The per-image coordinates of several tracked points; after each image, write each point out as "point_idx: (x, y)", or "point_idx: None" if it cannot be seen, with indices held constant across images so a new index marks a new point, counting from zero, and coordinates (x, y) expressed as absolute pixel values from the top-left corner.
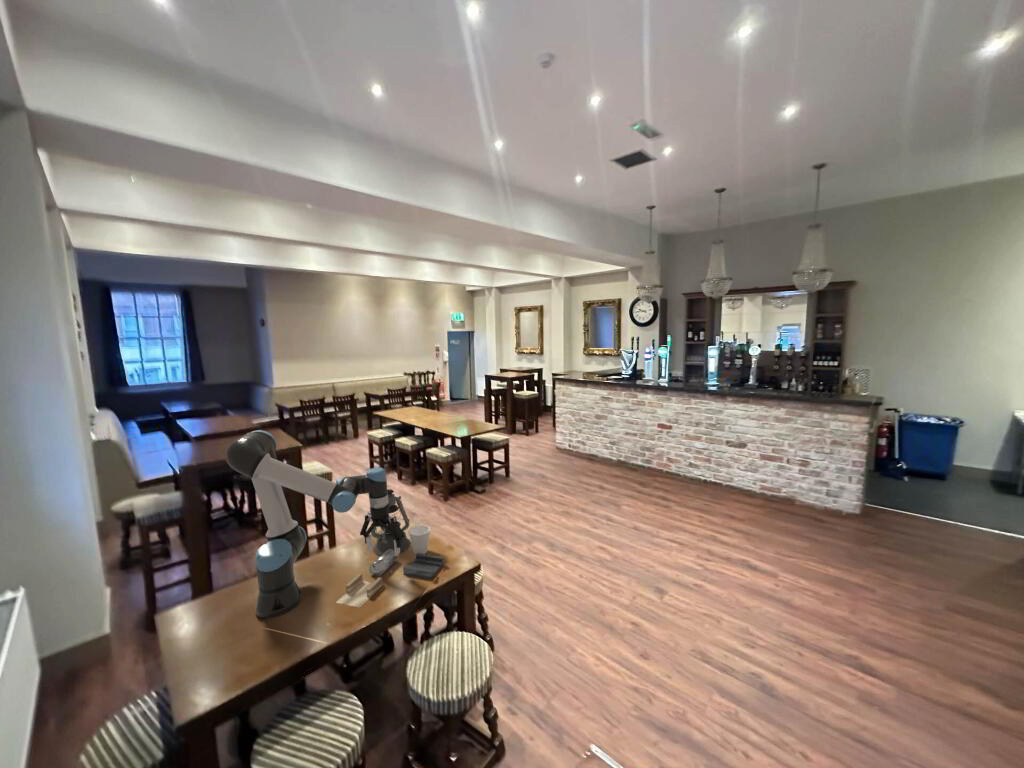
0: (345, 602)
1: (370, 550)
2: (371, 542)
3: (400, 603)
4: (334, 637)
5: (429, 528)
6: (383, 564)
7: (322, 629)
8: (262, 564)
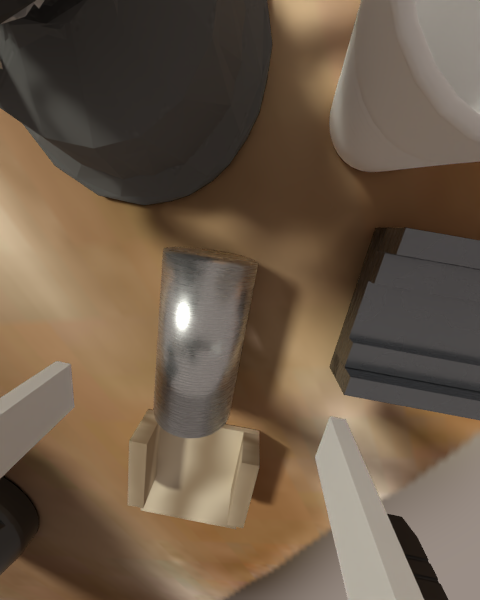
0: (172, 510)
1: (70, 390)
2: (5, 422)
3: None
4: (222, 592)
5: None
6: (224, 402)
7: (175, 573)
8: None
